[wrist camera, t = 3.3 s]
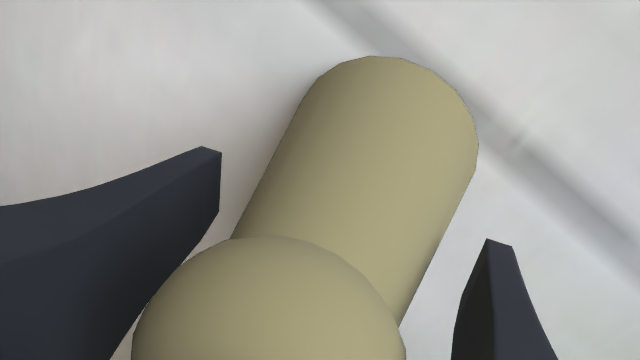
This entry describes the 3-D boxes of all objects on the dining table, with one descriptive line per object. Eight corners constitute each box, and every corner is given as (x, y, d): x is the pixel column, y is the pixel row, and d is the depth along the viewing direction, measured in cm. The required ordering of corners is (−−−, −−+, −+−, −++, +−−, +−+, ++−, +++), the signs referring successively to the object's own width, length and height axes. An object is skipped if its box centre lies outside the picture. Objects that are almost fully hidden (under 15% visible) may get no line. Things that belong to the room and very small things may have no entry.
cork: (520, 163, 16) (496, 543, 8) (379, 247, 20) (252, 573, 11) (386, 13, 15) (181, 252, 7) (262, 130, 19) (22, 387, 10)
